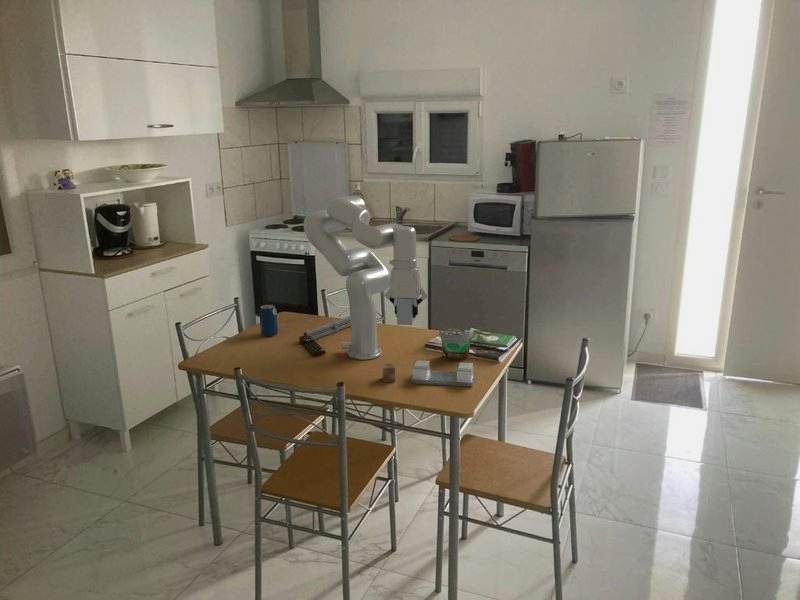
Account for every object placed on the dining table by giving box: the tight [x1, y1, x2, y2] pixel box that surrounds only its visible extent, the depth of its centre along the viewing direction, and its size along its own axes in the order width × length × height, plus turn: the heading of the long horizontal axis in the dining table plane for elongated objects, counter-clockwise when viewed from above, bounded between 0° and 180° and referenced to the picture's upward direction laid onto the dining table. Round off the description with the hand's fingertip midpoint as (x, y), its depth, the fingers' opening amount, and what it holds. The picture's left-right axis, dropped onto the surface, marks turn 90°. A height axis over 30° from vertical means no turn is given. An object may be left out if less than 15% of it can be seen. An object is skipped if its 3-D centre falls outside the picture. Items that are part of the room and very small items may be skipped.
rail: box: [410, 360, 476, 388], centre depth 216 cm, size 20×8×5 cm, turn 79°
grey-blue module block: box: [396, 298, 417, 326], centre depth 221 cm, size 5×7×9 cm
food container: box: [438, 329, 474, 362], centre depth 234 cm, size 12×6×10 cm, turn 88°
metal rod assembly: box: [303, 316, 351, 341], centre depth 264 cm, size 26×3×5 cm, turn 140°
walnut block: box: [382, 363, 396, 383], centre depth 218 cm, size 4×4×5 cm
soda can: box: [258, 304, 279, 337], centre depth 264 cm, size 7×7×12 cm
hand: (406, 316), depth 222 cm, fingers closed on grey-blue module block, 5 cm apart
